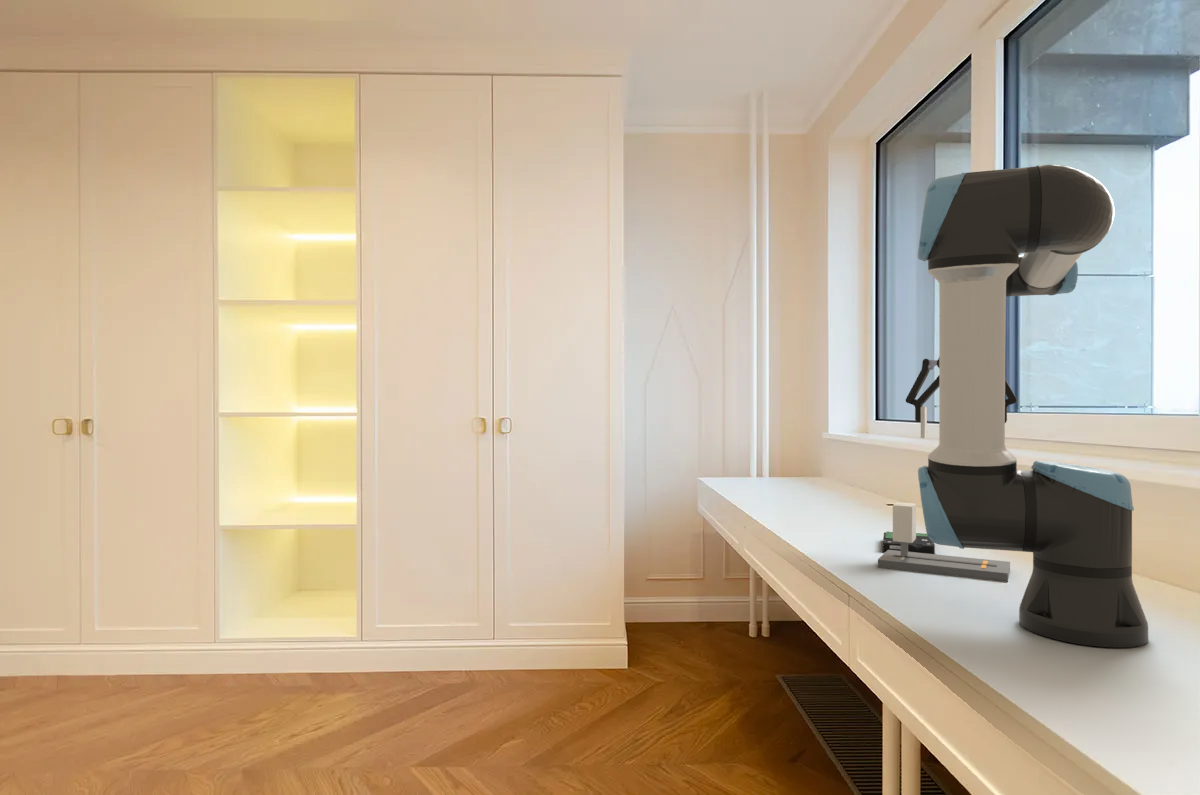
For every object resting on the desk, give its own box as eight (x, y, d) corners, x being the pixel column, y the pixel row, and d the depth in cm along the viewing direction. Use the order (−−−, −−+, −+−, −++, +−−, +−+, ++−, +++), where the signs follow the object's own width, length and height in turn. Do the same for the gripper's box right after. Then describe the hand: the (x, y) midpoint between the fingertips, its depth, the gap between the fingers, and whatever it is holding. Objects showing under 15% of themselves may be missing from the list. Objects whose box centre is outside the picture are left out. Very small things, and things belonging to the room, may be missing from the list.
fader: (912, 558, 142) (912, 506, 142) (892, 556, 144) (892, 505, 144) (915, 553, 146) (915, 503, 146) (897, 551, 148) (897, 502, 148)
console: (1007, 581, 131) (1007, 572, 131) (877, 567, 142) (877, 559, 142) (1010, 569, 141) (1010, 561, 141) (888, 556, 152) (888, 549, 152)
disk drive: (936, 559, 153) (932, 545, 167) (935, 545, 153) (932, 532, 167) (882, 555, 157) (883, 542, 170) (882, 542, 157) (883, 529, 170)
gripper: (1031, 332, 146) (1032, 439, 146) (898, 338, 160) (898, 436, 159) (1029, 329, 140) (1030, 441, 140) (891, 335, 153) (891, 437, 153)
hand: (959, 439), depth 149 cm, fingers open, 13 cm apart
